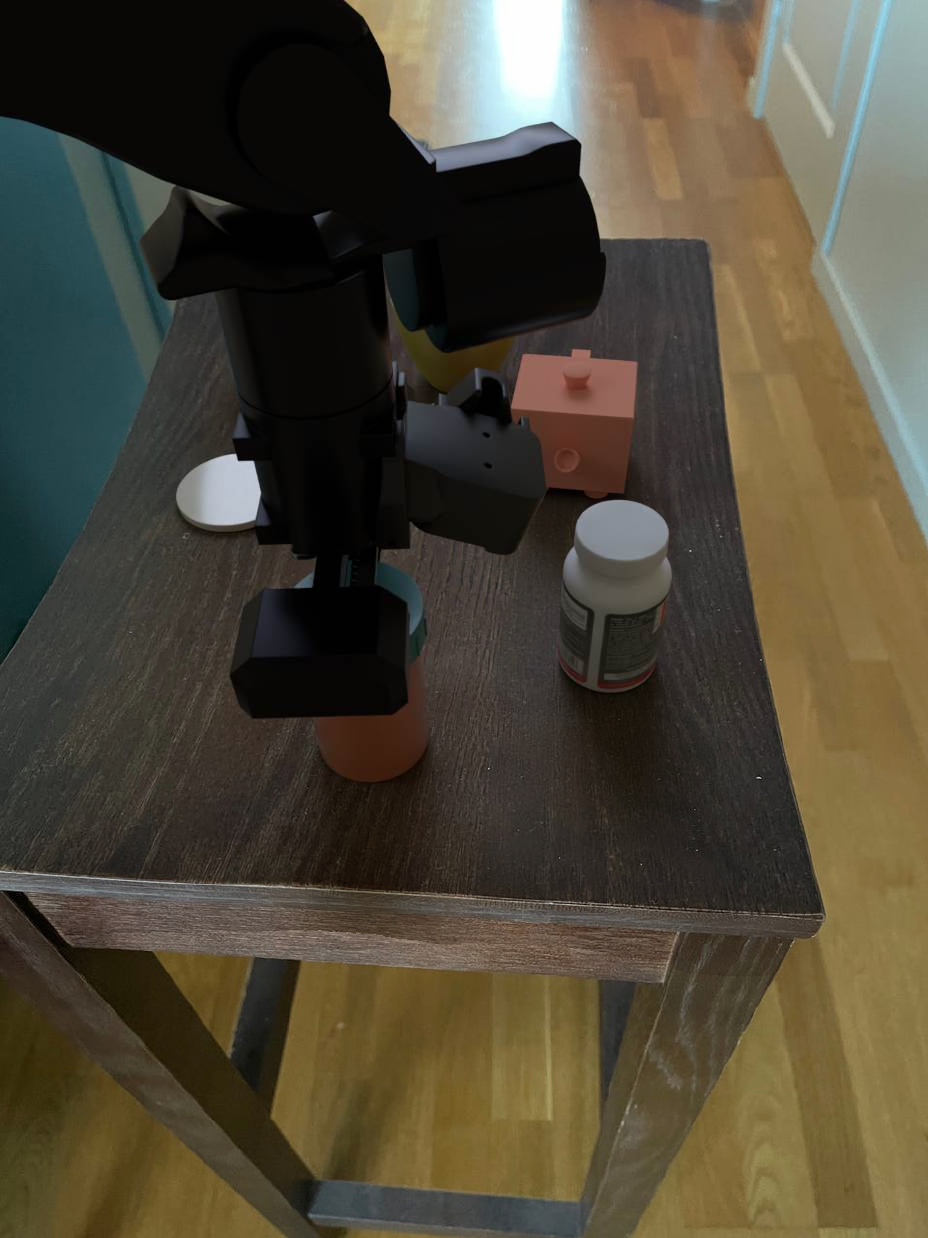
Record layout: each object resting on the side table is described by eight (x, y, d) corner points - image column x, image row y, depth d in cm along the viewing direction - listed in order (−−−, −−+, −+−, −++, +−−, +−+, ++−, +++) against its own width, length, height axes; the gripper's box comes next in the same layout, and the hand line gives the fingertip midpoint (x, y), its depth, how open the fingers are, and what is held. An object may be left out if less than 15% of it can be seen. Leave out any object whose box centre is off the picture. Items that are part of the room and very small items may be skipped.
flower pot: (542, 396, 71) (546, 311, 66) (420, 425, 69) (414, 339, 64) (495, 334, 78) (496, 252, 73) (382, 358, 76) (374, 276, 71)
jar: (348, 802, 47) (323, 684, 40) (300, 721, 50) (269, 600, 43) (449, 750, 49) (441, 630, 42) (396, 677, 53) (381, 554, 45)
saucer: (201, 547, 60) (198, 541, 60) (162, 483, 65) (160, 476, 65) (311, 505, 63) (310, 498, 63) (266, 446, 68) (265, 440, 67)
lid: (324, 711, 41) (318, 684, 39) (266, 619, 45) (259, 592, 43) (451, 651, 43) (450, 624, 41) (386, 569, 47) (383, 541, 45)
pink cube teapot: (502, 526, 61) (503, 422, 55) (523, 421, 69) (526, 321, 63) (620, 537, 60) (634, 433, 54) (627, 430, 68) (641, 328, 62)
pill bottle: (664, 634, 54) (690, 505, 47) (645, 707, 51) (670, 579, 43) (570, 613, 56) (581, 484, 48) (544, 682, 52) (553, 554, 45)
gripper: (558, 540, 27) (538, 817, 38) (520, 250, 40) (514, 523, 51) (180, 550, 27) (273, 825, 38) (264, 258, 40) (314, 529, 51)
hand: (359, 654), depth 45 cm, fingers closed on lid, 6 cm apart
